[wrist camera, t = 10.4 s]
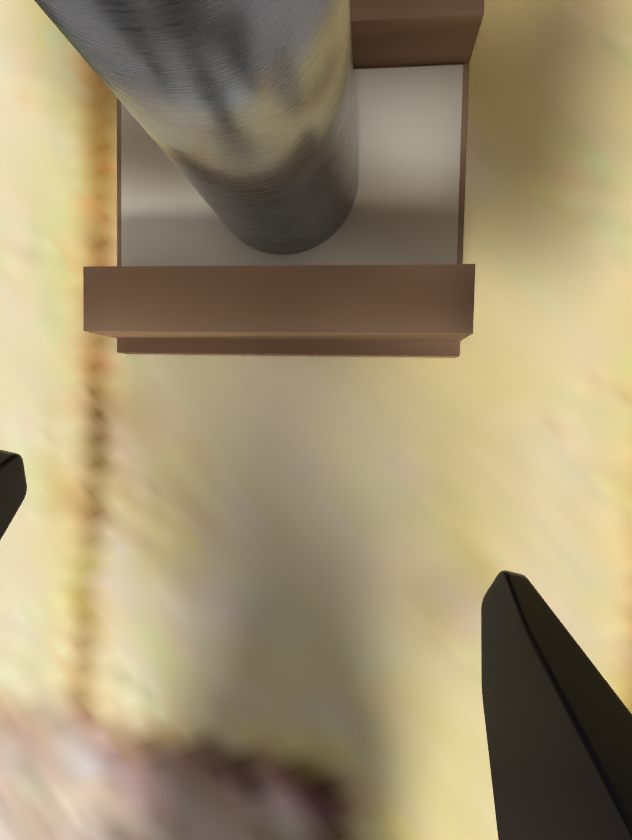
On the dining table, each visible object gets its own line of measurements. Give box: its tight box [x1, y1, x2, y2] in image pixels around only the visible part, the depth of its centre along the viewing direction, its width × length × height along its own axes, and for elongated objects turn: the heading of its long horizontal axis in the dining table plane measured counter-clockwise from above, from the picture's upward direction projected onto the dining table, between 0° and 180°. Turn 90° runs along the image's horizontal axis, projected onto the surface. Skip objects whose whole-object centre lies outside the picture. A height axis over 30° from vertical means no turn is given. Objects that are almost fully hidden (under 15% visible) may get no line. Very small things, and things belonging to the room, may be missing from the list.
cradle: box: [84, 0, 484, 358], centre depth 17 cm, size 12×12×3 cm
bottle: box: [35, 0, 358, 255], centre depth 11 cm, size 5×5×13 cm
